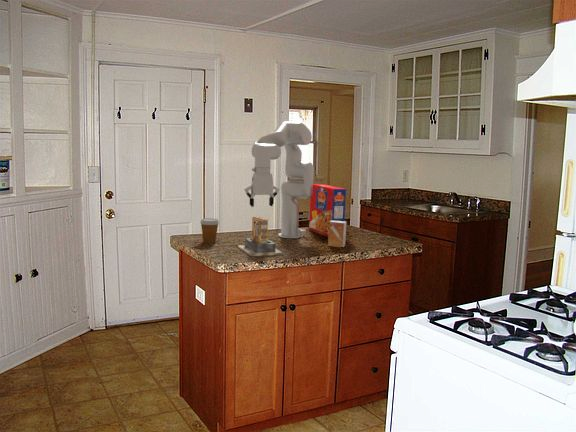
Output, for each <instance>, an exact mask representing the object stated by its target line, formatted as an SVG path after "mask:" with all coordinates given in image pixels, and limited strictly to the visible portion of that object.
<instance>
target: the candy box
mask: <svg viewBox="0 0 576 432" xmlns="http://www.w3.org/2000/svg"><path fill="white" fill-rule="evenodd" d="M251 220H252V221H251V222H252V223H251V227H252V228H251V238H252V241H253V242H255V243H256V244H265V243H267V239H268V234H269V233H268V232H269V231H268V229H269V219H268V218H264V217H261V216H253V217H251Z"/></svg>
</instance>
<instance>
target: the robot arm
mask: <svg viewBox="0 0 576 432" xmlns="http://www.w3.org/2000/svg"><path fill="white" fill-rule="evenodd" d="M312 138H313V135H312V132H311V130H310V129H309V128H308V126H307V125H306V124H304V123H303V122H301V121H283V122H281V123H280V124H278V126H277V127H276V128H275V130H274V131H273V132H271V133H269V134H266V135H263V136H261V137H260V138H258V139H257V140H256V141H255V142H254V143H253V145H252V147H251V155H252V157H253V158H254V167H252V168H251V171H252V172H254V173H252V179H251V185H250V186H248V187H246V188H244V189H243V191H244V192H245V194H246V195H247V197H248V198H249V205H250V207H251V208H254V207H255V199H254V197H255V196H259V195H260V196H261V195H262V196H263V195H264V196H268V195H269V198H268V199H269V201H268V202H269V204H268V205H269V207H273V205H274V203H275V202H274V198H275V197H276V196H277V195H278V194H279V191H280V190H281V191H280V192H281V200H282V201H281V203H282V204H281V205H282V207H281V227H280V228H281V229H280V232H279V233H278V234H277V235H278V237H280V238H283V239H299V238H301V237H302V235H301V234H307V230H306V229H300V228H299V218H300V204H299V202H298V200H297V199H301V200H302V199H303V200H304V199H305V200H306V199H307V200H309V199H310V198H311V196H312V191H313V184H314V177H315V176H314V175H315V168H314V165H313V163H312V162H310V161H302V155H303V154H302V152H303V151H302V150H301V148H300V147H299V146H308V145H310V144H311V142H312ZM281 147H284V148H285V151H286V152H285V153H286V155H285V166H284V167H285V170H284V172H285V176H286V177H288V178H289V180H285V181H283V182H282V183H281V187H280V189H279V188H278V187H276V186H274V178H273V173H271V163H272V162H271V160H274V161H275V160H278V159H279V158H280V157H281V154H282V149H281ZM290 179H302V180H303V181H302V180H290ZM249 191H250V192H251V193H250V192H249Z"/></svg>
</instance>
